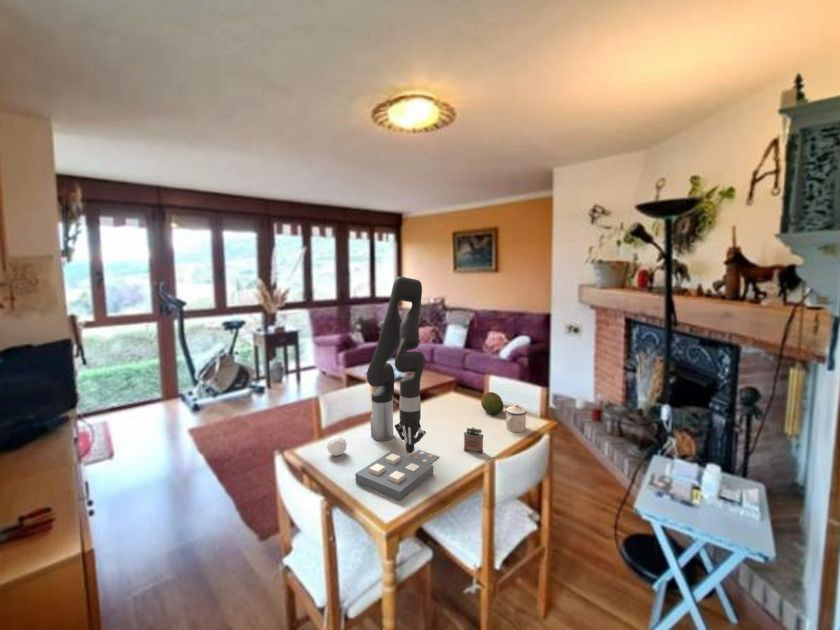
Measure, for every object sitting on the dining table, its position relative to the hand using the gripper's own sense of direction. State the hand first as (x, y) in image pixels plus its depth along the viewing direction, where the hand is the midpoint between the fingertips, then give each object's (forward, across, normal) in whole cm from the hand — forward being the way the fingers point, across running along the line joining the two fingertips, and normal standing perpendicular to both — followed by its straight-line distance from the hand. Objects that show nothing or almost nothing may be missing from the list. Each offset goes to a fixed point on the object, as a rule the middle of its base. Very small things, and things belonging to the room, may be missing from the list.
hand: (410, 452), depth 145 cm
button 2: (+8, +1, +1) cm, 8 cm away
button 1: (+7, -8, 0) cm, 11 cm away
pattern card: (+10, -4, +14) cm, 17 cm away
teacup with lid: (+10, +15, +59) cm, 62 cm away
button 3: (+7, -8, -9) cm, 14 cm away
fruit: (+10, -2, +73) cm, 73 cm away
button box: (+10, -4, -4) cm, 11 cm away
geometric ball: (+10, -35, -4) cm, 36 cm away
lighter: (+10, +10, +30) cm, 33 cm away
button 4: (+7, +1, -8) cm, 11 cm away
